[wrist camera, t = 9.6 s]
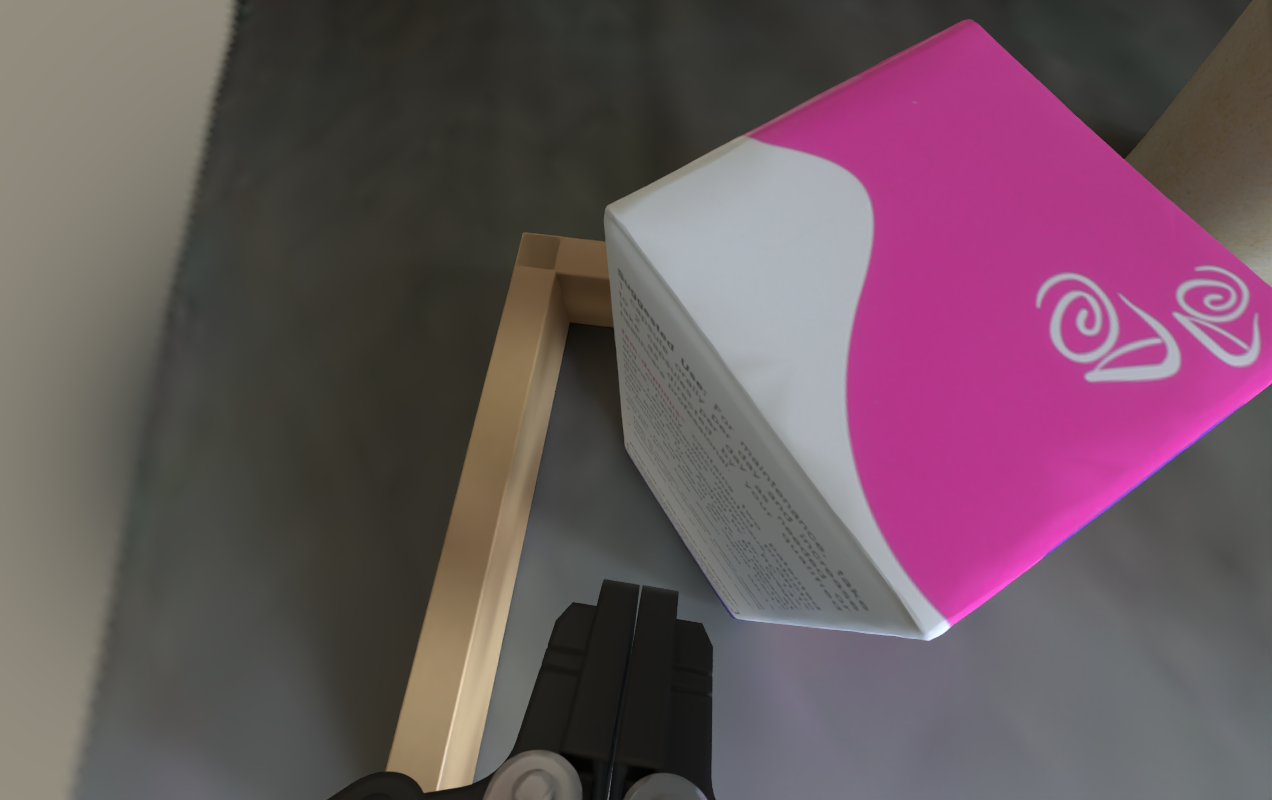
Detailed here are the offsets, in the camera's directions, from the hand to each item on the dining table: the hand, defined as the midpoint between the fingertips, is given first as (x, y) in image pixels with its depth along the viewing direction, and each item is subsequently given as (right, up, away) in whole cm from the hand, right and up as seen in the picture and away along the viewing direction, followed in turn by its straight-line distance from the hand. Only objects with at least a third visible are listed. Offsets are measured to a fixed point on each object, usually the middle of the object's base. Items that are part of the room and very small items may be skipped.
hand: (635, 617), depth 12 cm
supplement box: (+4, +2, +5) cm, 7 cm away
